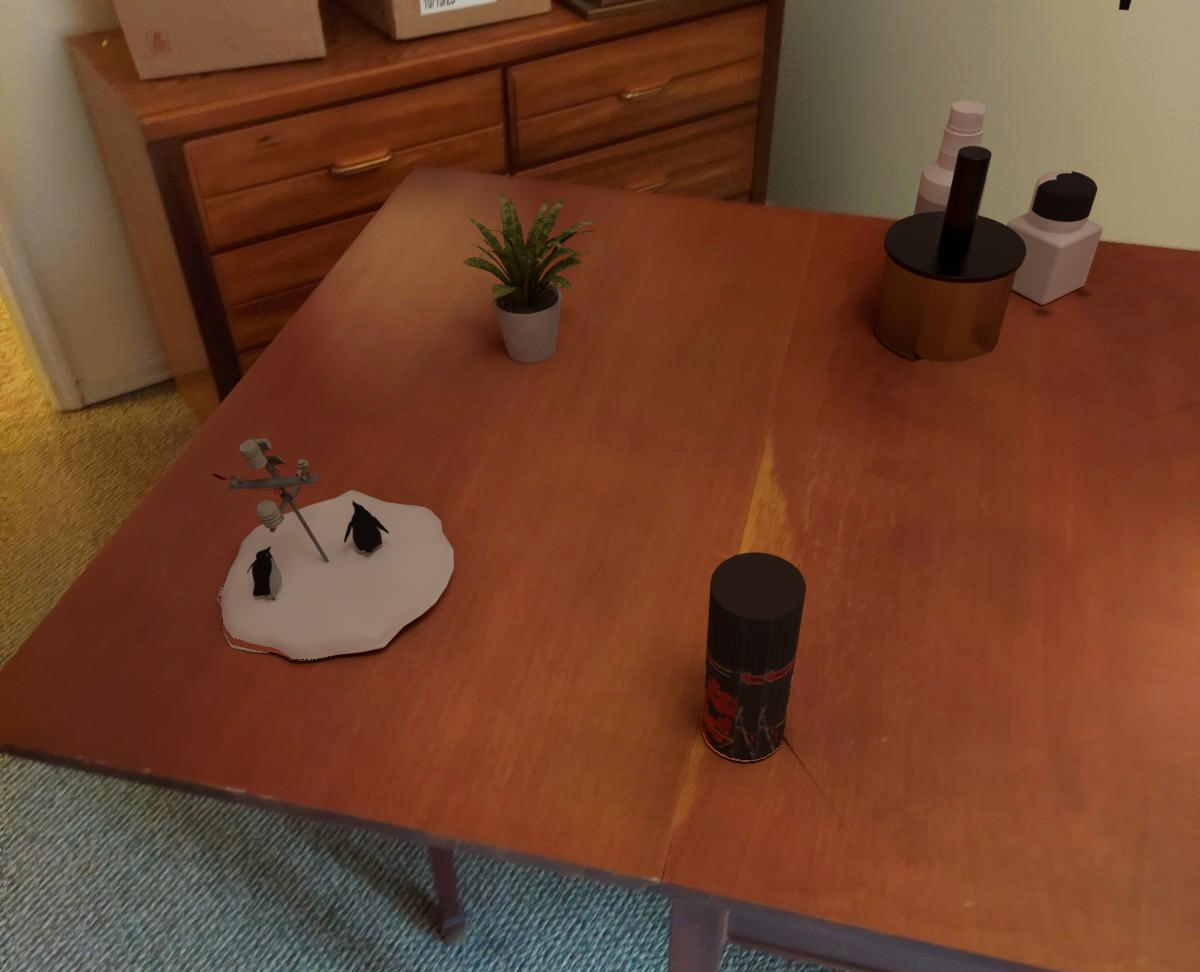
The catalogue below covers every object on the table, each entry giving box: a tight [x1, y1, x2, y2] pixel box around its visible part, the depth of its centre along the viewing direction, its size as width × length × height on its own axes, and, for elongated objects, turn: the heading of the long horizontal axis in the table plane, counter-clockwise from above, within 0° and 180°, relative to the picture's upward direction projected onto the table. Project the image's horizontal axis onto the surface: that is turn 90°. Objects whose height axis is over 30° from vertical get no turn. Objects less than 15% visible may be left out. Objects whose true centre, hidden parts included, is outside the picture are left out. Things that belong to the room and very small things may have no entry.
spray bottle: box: [913, 99, 988, 215], centre depth 115 cm, size 7×7×18 cm
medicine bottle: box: [1006, 169, 1104, 306], centre depth 114 cm, size 7×7×12 cm
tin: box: [873, 253, 1017, 363], centre depth 109 cm, size 13×13×10 cm
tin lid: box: [883, 146, 1026, 283], centre depth 102 cm, size 14×14×10 cm
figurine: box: [210, 437, 455, 661], centre depth 83 cm, size 20×18×16 cm
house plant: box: [461, 190, 598, 364], centre depth 106 cm, size 14×14×16 cm
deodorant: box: [701, 551, 807, 765], centre depth 72 cm, size 6×6×15 cm
